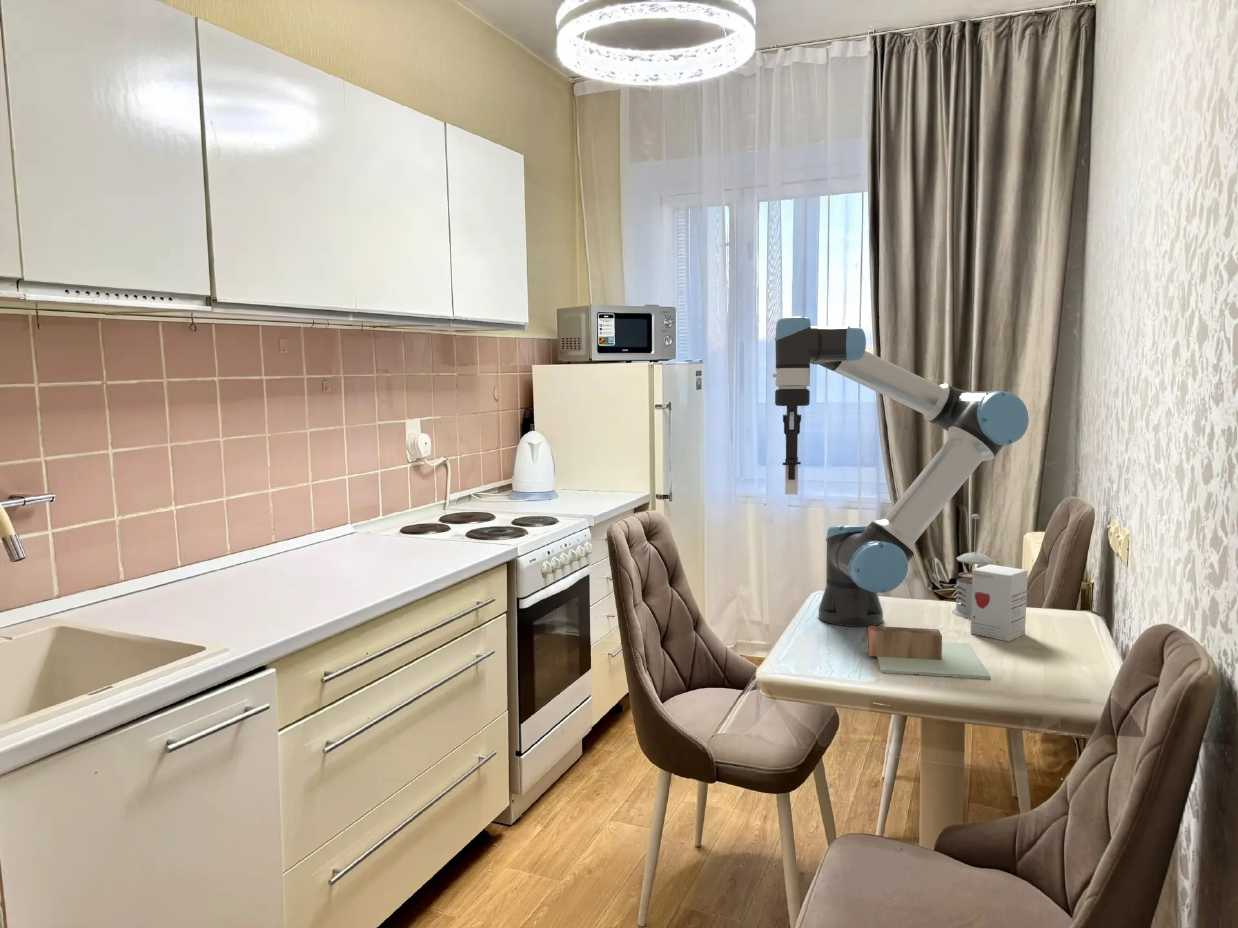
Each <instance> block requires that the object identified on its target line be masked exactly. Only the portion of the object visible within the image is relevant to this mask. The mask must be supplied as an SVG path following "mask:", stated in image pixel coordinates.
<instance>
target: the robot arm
mask: <svg viewBox="0 0 1238 928" xmlns="http://www.w3.org/2000/svg"><path fill="white" fill-rule="evenodd" d="M774 341H775V344H774V345H775V372H773V373H772V377H773V378H775V380H774V381H775V382H774V383H775V387H777V389H776V390H775V391H774V405H775V406H777V407H786V414H782V422H783V434H784V435H785V459H784V461H783V462H782V466H784V468H785V469H784V471H785V472H784V474H785V477H784V481H785V482H784V485H785V486H784V487H785V488H784V491H785V493H784V494H785V495H791V496H792V495H797V496H798V493H799V491H798V490H799V489H798V488H799V486H798V485H799V484H798V482H799V480H798V479H799V465H801V464H802V462H801V461H799V457H798V445H799V443H798V441H799V440H798V437H799V434H800V432H801V422H802V414H799V413H798V407H809V405H810V404H811V403H810V399H811V398H810V397H811V396H810V394H811V391H810V389H809V388H808V387H810V386H811V364H812V365H815V366H817V365H819V366H821V367H822V368H825V369H827V370H829V371H832V372H835V373H836V374H839V375H840V376H843V377H845V378H847V379H849V380H851V381H853V382H855V383H857V384H860V385H862V386H863V387H865V388H868V389H870V390H871V391H872V390H873V391H875V392H876V393H878V394H880V395H883V396H885V397H887V398H889V399H891V400H893V401H896V402H897V403H899V404H902V405H903V406H906V407H908V408H910V409H912V410H914V411H916V412H919V413H921V414H922V415H923V418H924V420H925V421H928V422H930V423H932V424H933V425H935V426H937V427H939V428H940V429H942V430H943V429H944V430H945V431H946V432H948V435H949V437H948V439H947V440H946V441H945V443H944V444H943V446H941V448H940V449H939V451H937V453H936V454H935V455H934V456H933V458H932V459H931V460H930V461H929V462H928V463H927V464H926V466H925V467H924V468H923V470H922V471H921V472H920V473H919V475H918V476H917V477H916V478H915V480H913V482H912V483H911V485H909V487H907V489H906V490H905V492H904V493H903V494H902V495H901V496H900V498H899V499H898V500H897V501H896V503H894V505H893V506H892V507H891V509H890V510H889V511H888V512H887V514H886V515H885V516H884V517H883V518H881V519H878V520H872V521H871V522H870V523H869V524H852V525H851V524H849V525H848V524H843V525H841V524H840V525H831V526H829V527H828V528H827V531H826V532H827V533H826V537H825V541H826V570H825V571H826V572H825V573H826V575H825V576H826V581H825V582H826V585H825V588H824V592H823V595H822V597H821V600H820V603H819V606H818V618H819V620H821V621H823V622H826V623H829V624H832V625H837V626H845V627H868V626H877V625H879V624H881V623H883V621H884V612H883V607H882V604H881V601H880V597H879V594H881V593H888V592H890V591H893V590H896V588H898V587H899V586H900V585H902V583H903V582H904V580H905V579H906V577H907V575H908V572H909V568H908V567H909V562H910V561H911V560H912V558H913V557H914V556H915V554H916V550H915V549H916V548H915V543H916V542H917V541H918V539H919V538H920V537H921V536H922V535H923V534H924V532H925V531H926V530H927V528H928V527H929V526H930V524H932V522H933V521H934V520H935V518H937V516H938V515H939V514H940V512H941V511H942V510H943V509H944V508H945V507H946V505H947V504H948V503H949V502H950V500H951V499H952V498H953V497H954V496H955V495H956V493H957V492H958V491H959V490H960V488H961V487H962V485H964V484H965V482H966V481H967V480H968V479H969V478H970V476H972V474H973V472H974V471H975V470H976V469H977V468H978V466H979V465H980V464H981V463H982V462H984V461H991V460H993V459H995V457H996V456H997V455H998V454H999V452H1000V451H1001V450H1002V449H1003V447H1004V446H1009V445H1012V444H1014V443H1017V442H1018V441H1019V440H1021V439H1022V438H1023V436H1024V435H1025V434H1026V432H1027V430H1028V427H1029V423H1030V422H1029V420H1030V418H1029V411H1028V408H1027V406H1026V404H1025V403H1024V401H1023V400H1022V399H1021V398H1020V397H1019V396H1018V395H1016V394H1014V393H1012V392H1009V391H1005V390H998V389H995V390H990V391H982V390H981V391H980V390H979V391H978V390H977V391H972V390H971V391H970V390H964V389H961V388H956V387H953V386H951V385H949V384H947V383H942V384H939V385H938V384H937V383H934V382H932V381H930V380H928V379H926V378H924V377H921V376H920V375H917V374H916V373H913V372H910V371H909V370H907V369H905V368H903V367H900V366H898V364H897V365H896V364H894V363H892V362H890V361H888V360H886V359H884V358H881V357H880V356H877V355H876V354H874V353H872V352H869V351H866V347H867V338H866V333H865V331H864V329H863V328H861V327H860V326H850V325H847V326H814V325H813V326H812V323H811V319H810V317H806V316H803V317H802V316H787V317H782V318H779V319H778V320H777V321H776V324H775V337H774Z"/></svg>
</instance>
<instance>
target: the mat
mask: <svg viewBox="0 0 1238 928" xmlns="http://www.w3.org/2000/svg"><path fill="white" fill-rule="evenodd" d="M876 659H877V661H878V662H877V663H878V665H879V669H880V673H881V672H888V673H887V674H897V673H899V674H901V675H913V674H919V675H918V676H931V677H945V676H953V677H952V678H960V677H963V679H976V678H978V679H980V680H981V679H982V680H991V677H992V676H991V674H989V672H988V670H987V668H986V667H985V665H984V664H983V663H982V660H981V659H980V658H979V656H978V654H977V653H976V652H975V650H974V649H973V647H972V645H971V644H970V643H969V642H952V641H942V660H931V659H914V658H896V657H879V656H876ZM899 674H898V675H899ZM955 676H956V677H955ZM964 677H965V678H964Z"/></svg>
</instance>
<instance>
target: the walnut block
mask: <svg viewBox="0 0 1238 928" xmlns="http://www.w3.org/2000/svg"><path fill="white" fill-rule="evenodd" d="M867 627H868V629H867V630H868V631H867V632H868V634H867V635H868V636H867V650H868V654H869V656H870V657H877V656H879V657H896V658H914V659H931V660H942V642H943V635H942V633H941V631H940V629H939V628H919V627H901V626H900V627H899V626H881V625H879V626H878V625H872V626H867Z"/></svg>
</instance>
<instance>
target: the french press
mask: <svg viewBox="0 0 1238 928" xmlns="http://www.w3.org/2000/svg"><path fill="white" fill-rule="evenodd" d="M970 517H971V519H972V520H974V535H973V536H974V539H973V544H974V545H973V552H965V553H963V554H961V555H959V556H957V557H956V560H957V562H960V563H963V564H970V565H973V569H976V568H977V567H975V566H976V565H988V564H990V563H992V562H993V559H991V558H990V557H989V556H987V555H985V554H983V553H979V552H977V551H976V531H977V530H976V529H977V528H976V527H977V520H980V518H981V517H980V515H979V514H978V513H974V514H971V516H970ZM972 576H973V572H972V571H971V572H970V571H965V572H964V571H963V572H959V573H958V577H959V578H958V579H956V600H955V601H956V605H955V608H954V609H952V611H951V613H952V614H953V615H955V616H958V617H961V616H962V617H961V618H965V617H966V618H967V619H971V606H972Z"/></svg>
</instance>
